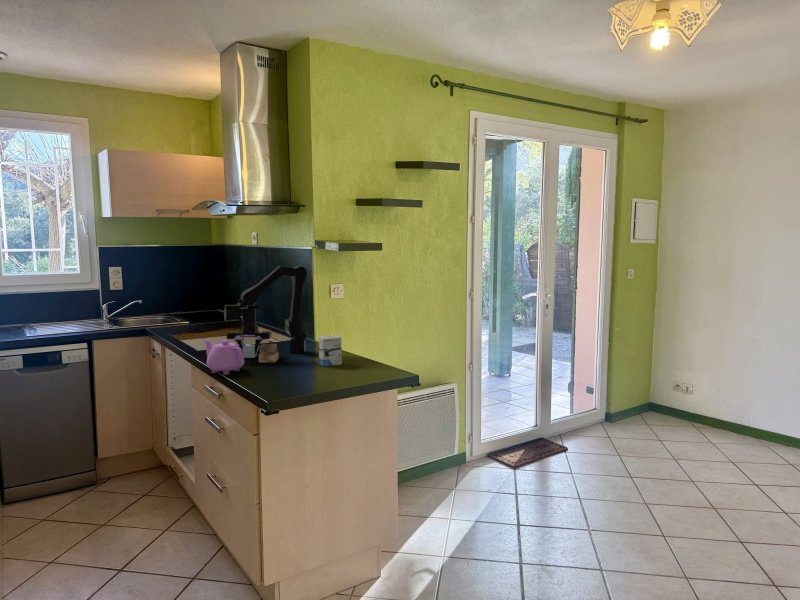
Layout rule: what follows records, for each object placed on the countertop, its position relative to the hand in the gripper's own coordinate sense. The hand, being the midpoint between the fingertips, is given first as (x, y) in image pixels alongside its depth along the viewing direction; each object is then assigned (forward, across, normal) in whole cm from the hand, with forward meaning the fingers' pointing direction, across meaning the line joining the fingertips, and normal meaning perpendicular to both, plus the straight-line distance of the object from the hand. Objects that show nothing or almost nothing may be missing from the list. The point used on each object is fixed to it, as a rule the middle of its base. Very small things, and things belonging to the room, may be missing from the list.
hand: (249, 354), depth 248 cm
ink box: (+1, -37, +16) cm, 40 cm away
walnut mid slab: (-2, -10, +8) cm, 13 cm away
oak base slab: (+1, -10, +8) cm, 13 cm away
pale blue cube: (+1, 0, 0) cm, 1 cm away
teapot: (+1, +4, +27) cm, 27 cm away
